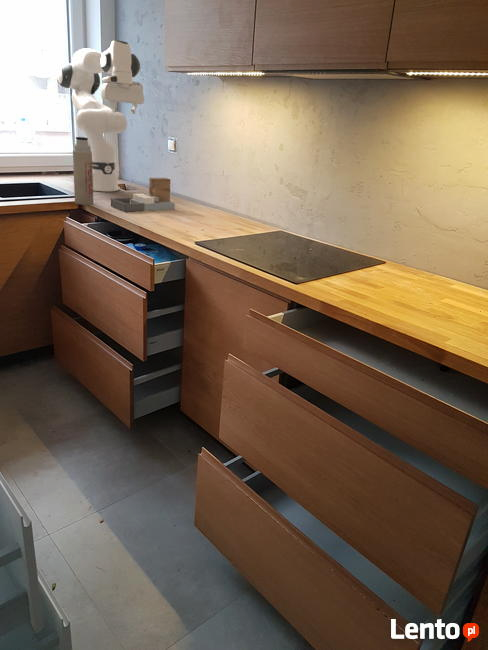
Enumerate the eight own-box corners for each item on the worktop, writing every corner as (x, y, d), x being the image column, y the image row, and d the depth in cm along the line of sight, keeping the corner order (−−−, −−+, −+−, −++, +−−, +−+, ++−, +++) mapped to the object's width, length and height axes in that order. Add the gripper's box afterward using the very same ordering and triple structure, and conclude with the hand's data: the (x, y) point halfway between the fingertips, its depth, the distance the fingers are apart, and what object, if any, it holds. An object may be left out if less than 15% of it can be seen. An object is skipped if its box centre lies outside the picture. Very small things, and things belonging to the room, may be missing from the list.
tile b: (138, 201, 222) (138, 196, 221) (148, 201, 225) (148, 195, 224) (144, 203, 219) (144, 198, 218) (154, 203, 222) (154, 197, 221)
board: (130, 205, 227) (130, 199, 226) (160, 204, 237) (161, 198, 236) (143, 210, 219) (144, 204, 218) (174, 209, 229) (174, 202, 228)
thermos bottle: (97, 203, 224) (95, 138, 213) (82, 205, 218) (79, 137, 207) (86, 200, 228) (84, 136, 217) (71, 202, 222) (68, 135, 211)
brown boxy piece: (143, 198, 230) (143, 176, 226) (160, 198, 236) (160, 176, 232) (156, 203, 222) (157, 180, 218) (173, 202, 227) (174, 180, 224)
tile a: (132, 199, 226) (132, 193, 225) (142, 199, 229) (142, 193, 228) (138, 201, 222) (138, 195, 221) (147, 201, 226) (148, 195, 225)
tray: (110, 206, 222) (110, 198, 220) (129, 205, 228) (129, 197, 226) (124, 212, 213) (124, 204, 211) (144, 211, 218) (144, 203, 217)
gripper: (139, 83, 234) (140, 115, 239) (98, 78, 221) (100, 111, 226) (146, 82, 230) (147, 114, 234) (104, 76, 217) (106, 110, 221)
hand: (124, 113), depth 230 cm, fingers open, 8 cm apart
